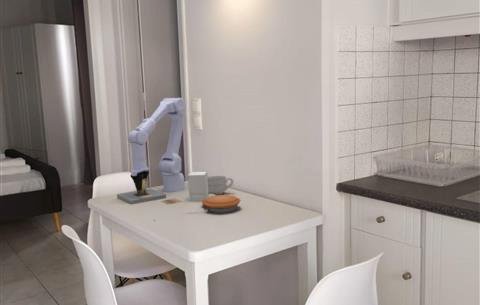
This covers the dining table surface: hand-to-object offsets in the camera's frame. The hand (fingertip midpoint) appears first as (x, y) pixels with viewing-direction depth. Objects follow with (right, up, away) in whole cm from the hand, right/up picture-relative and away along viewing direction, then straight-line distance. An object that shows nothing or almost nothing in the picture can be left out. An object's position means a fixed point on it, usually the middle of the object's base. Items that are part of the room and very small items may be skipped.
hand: (140, 189), depth 211 cm
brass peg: (0, -2, 0) cm, 2 cm away
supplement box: (+26, -6, -5) cm, 27 cm away
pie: (+36, -7, -17) cm, 40 cm away
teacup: (+33, -3, +9) cm, 35 cm away
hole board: (0, -5, +1) cm, 5 cm away
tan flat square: (+14, -6, -8) cm, 17 cm away
